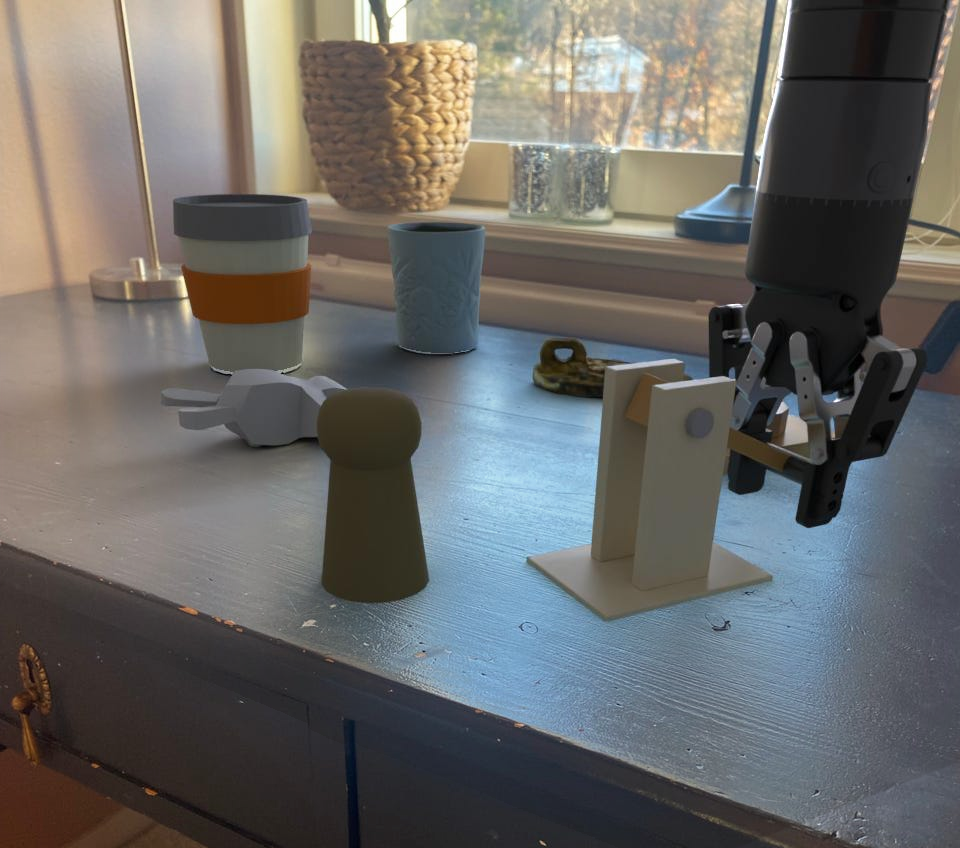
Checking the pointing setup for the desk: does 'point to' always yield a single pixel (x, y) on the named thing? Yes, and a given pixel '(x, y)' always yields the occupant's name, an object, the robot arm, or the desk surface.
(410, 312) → the blue embossed cup
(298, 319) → the reusable coffee cup
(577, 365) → the seal
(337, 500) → the cork
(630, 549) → the bracket
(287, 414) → the bunny figurine
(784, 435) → the button block
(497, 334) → the desk surface
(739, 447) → the lever
